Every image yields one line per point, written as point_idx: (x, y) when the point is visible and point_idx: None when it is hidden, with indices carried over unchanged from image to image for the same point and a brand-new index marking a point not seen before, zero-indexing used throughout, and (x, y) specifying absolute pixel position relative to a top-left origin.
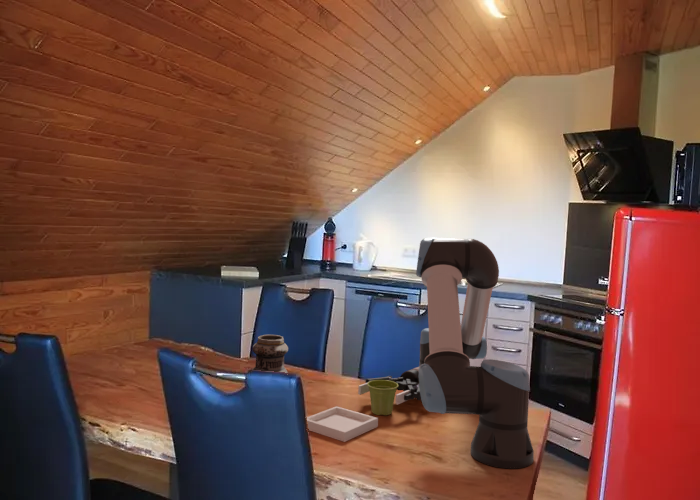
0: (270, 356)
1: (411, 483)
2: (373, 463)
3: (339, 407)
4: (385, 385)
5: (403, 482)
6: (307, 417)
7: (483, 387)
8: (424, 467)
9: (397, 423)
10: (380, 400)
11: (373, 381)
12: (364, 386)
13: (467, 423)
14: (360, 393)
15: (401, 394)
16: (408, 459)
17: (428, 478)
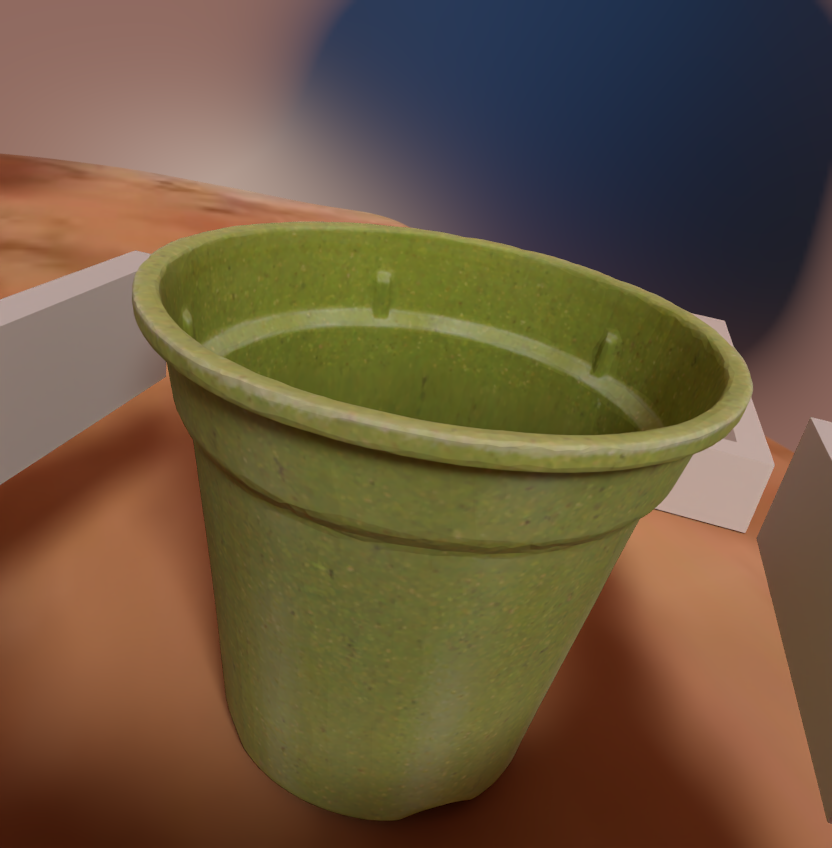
0: None
1: (78, 175)
2: (227, 223)
3: (727, 449)
4: (480, 525)
5: (106, 178)
6: (724, 332)
7: None
8: (6, 203)
9: (131, 475)
10: (379, 407)
11: (718, 400)
12: (821, 499)
13: None
14: (765, 527)
15: (77, 280)
16: (74, 228)
17: (7, 179)
